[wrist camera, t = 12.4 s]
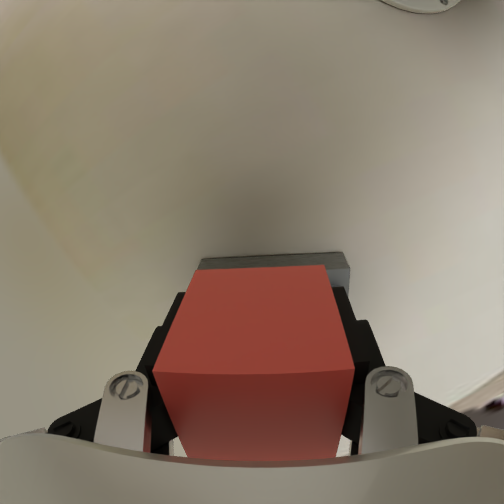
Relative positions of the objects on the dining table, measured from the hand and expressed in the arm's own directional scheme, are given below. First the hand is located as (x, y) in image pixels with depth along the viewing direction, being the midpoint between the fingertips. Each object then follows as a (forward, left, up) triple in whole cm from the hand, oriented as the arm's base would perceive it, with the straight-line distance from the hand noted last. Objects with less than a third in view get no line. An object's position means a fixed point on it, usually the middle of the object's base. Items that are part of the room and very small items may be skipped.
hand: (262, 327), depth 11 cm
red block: (0, 0, 0) cm, 0 cm away
